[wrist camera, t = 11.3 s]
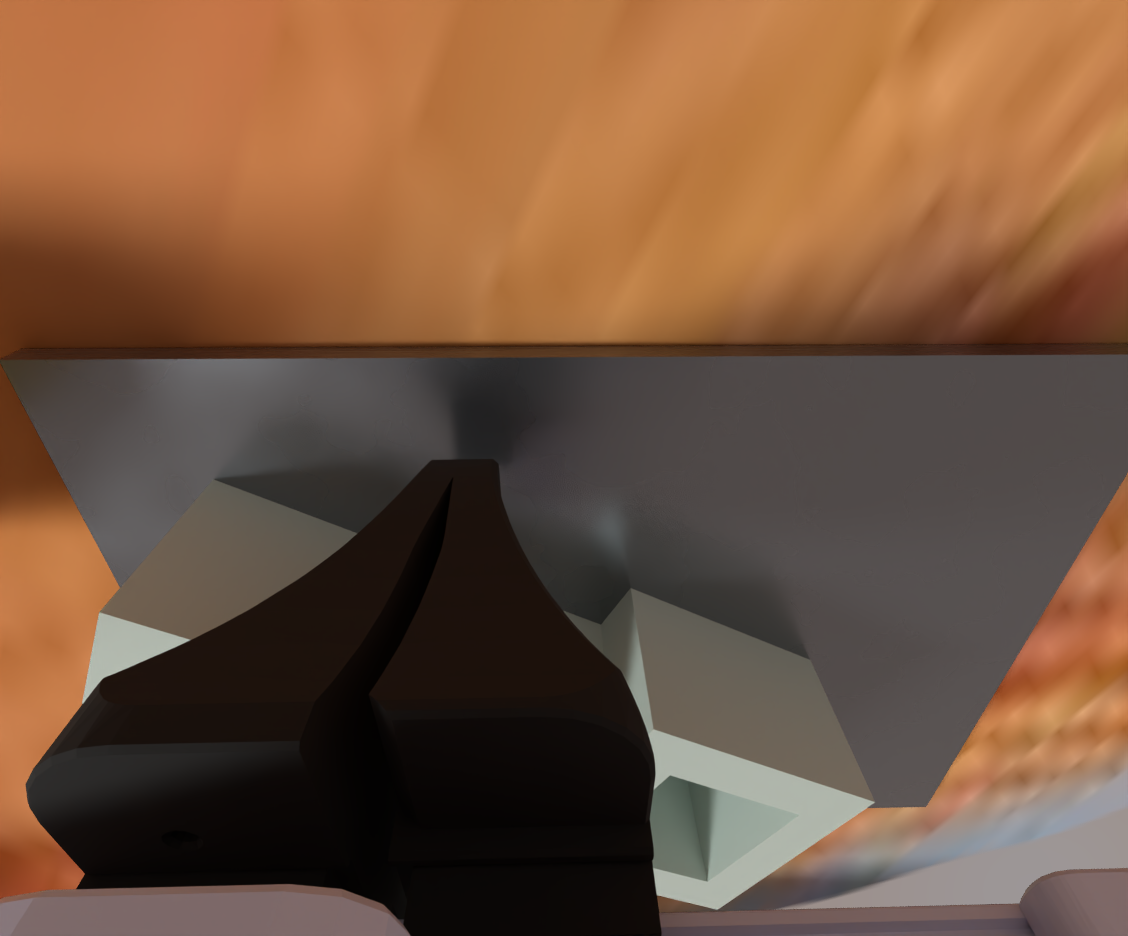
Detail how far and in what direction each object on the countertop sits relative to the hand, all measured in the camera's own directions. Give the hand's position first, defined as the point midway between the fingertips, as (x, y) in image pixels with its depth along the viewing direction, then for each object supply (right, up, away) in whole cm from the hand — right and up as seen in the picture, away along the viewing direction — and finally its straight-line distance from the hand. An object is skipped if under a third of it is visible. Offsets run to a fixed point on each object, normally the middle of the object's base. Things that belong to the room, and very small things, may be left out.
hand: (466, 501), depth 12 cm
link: (0, -4, +4) cm, 6 cm away
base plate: (+3, -4, +5) cm, 7 cm away
